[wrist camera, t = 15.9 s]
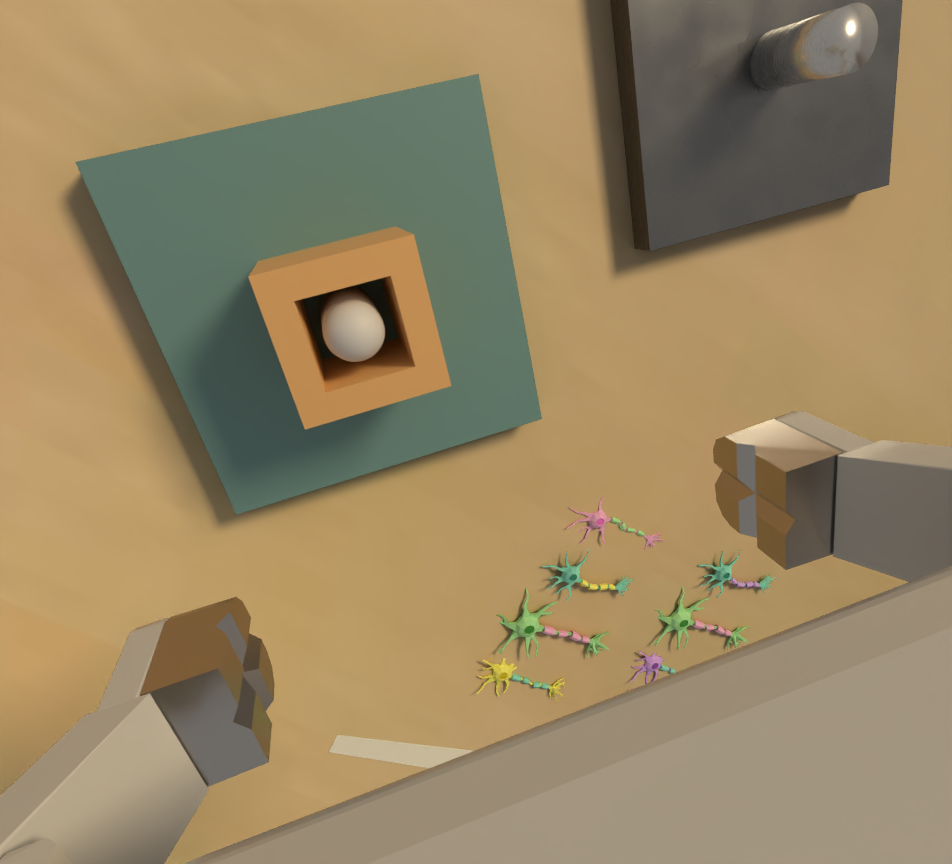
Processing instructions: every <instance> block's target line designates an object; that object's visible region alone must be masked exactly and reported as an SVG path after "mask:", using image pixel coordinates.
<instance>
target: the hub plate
mask: <svg viewBox="0 0 952 864" xmlns="http://www.w3.org/2000/svg"><path fill="white" fill-rule="evenodd" d="M76 164H77V166H78V169H79V171H80V173H81V175H82V177H83V180H84V182H85V184H86V186H87V188H88V191H89V193H90V195H91V197H92V199H93V202H94V204H95V206H96V208H97V210H98V212H99V215H100V217H101V219H102V221H103V223H104V226H105V228H106V230H107V232H108V234H109V237H110V239H111V241H112V243H113V245H114V248H115V250H116V252H117V254H118V256H119V259H120V261H121V263H122V265H123V267H124V269H125V272H126V274H127V276H128V278H129V280H130V283H131V285H132V287H133V289H134V291H135V294H136V296H137V298H138V300H139V302H140V305H141V307H142V309H143V311H144V313H145V316H146V318H147V320H148V322H149V324H150V326H151V329H152V331H153V333H154V335H155V337H156V340H157V342H158V344H159V346H160V348H161V351H162V353H163V355H164V357H165V359H166V362H167V364H168V366H169V368H170V370H171V373H172V375H173V377H174V379H175V381H176V383H177V386H178V388H179V390H180V392H181V394H182V397H183V399H184V401H185V403H186V405H187V408H188V410H189V412H190V414H191V416H192V419H193V421H194V423H195V425H196V427H197V429H198V432H199V434H200V436H201V438H202V440H203V443H204V445H205V447H206V449H207V451H208V454H209V456H210V458H211V460H212V462H213V465H214V467H215V469H216V471H217V473H218V476H219V478H220V480H221V482H222V484H223V486H224V489H225V491H226V493H227V495H228V497H229V500H230V502H231V504H232V506H233V508H234V511H235V513H236V515H237V514H240V513H244V512H247V511H250V510H253V509H256V508H259V507H263V506H266V505H269V504H272V503H275V502H279V501H282V500H285V499H288V498H291V497H294V496H298V495H301V494H304V493H307V492H310V491H314V490H317V489H320V488H323V487H326V486H330V485H333V484H336V483H339V482H342V481H345V480H349V479H352V478H355V477H358V476H361V475H365V474H368V473H371V472H374V471H377V470H381V469H384V468H387V467H390V466H393V465H396V464H400V463H403V462H406V461H409V460H412V459H416V458H419V457H422V456H425V455H428V454H432V453H435V452H438V451H441V450H444V449H447V448H451V447H454V446H457V445H460V444H463V443H467V442H470V441H473V440H476V439H479V438H482V437H486V436H489V435H492V434H495V433H498V432H502V431H505V430H508V429H511V428H514V427H518V426H521V425H524V424H527V423H530V422H533V421H537V420H540V419H542V417H541V412H540V406H539V401H538V396H537V390H536V385H535V379H534V374H533V368H532V363H531V357H530V352H529V347H528V341H527V336H526V330H525V325H524V319H523V314H522V309H521V303H520V298H519V292H518V287H517V281H516V276H515V271H514V265H513V260H512V254H511V249H510V243H509V238H508V232H507V227H506V222H505V216H504V211H503V205H502V200H501V194H500V189H499V184H498V178H497V173H496V167H495V162H494V156H493V151H492V145H491V140H490V135H489V129H488V124H487V118H486V113H485V107H484V102H483V97H482V91H481V86H480V80H479V75H478V74H476V75H471V76H467V77H462V78H458V79H453V80H449V81H444V82H439V83H435V84H430V85H426V86H421V87H417V88H412V89H407V90H403V91H398V92H394V93H389V94H385V95H380V96H375V97H371V98H366V99H362V100H357V101H353V102H348V103H343V104H339V105H334V106H330V107H325V108H321V109H316V110H311V111H307V112H302V113H298V114H293V115H289V116H284V117H279V118H275V119H270V120H266V121H261V122H257V123H252V124H247V125H243V126H238V127H234V128H229V129H225V130H220V131H215V132H211V133H206V134H202V135H197V136H193V137H188V138H183V139H179V140H174V141H170V142H165V143H161V144H156V145H151V146H147V147H142V148H138V149H133V150H129V151H124V152H119V153H115V154H110V155H106V156H101V157H97V158H92V159H87V160H83V161H78V162H76ZM395 226H396V227H398V228H400V229H403V230H405V231H407V232H410V233H412V234H414V237H415V241H416V245H417V249H418V253H419V257H420V261H421V265H422V269H423V273H424V277H425V281H426V285H427V289H428V293H429V297H430V301H431V305H432V309H433V313H434V317H435V322H436V326H437V330H438V334H439V338H440V342H441V346H442V350H443V354H444V358H445V362H446V366H447V370H448V374H449V378H450V382H451V386H450V387H446V388H443V389H440V390H436V391H433V392H430V393H426V394H423V395H420V396H416V397H413V398H410V399H406V400H403V401H399V402H396V403H393V404H389V405H386V406H383V407H379V408H376V409H373V410H369V411H366V412H363V413H359V414H356V415H352V416H349V417H346V418H342V419H339V420H336V421H332V422H329V423H326V424H322V425H319V426H316V427H312V428H309V429H305V428H304V426H303V423H302V420H301V418H300V415H299V412H298V410H297V407H296V404H295V401H294V399H293V396H292V393H291V391H290V388H289V385H288V383H287V380H286V377H285V375H284V372H283V369H282V367H281V364H280V361H279V358H278V356H277V353H276V350H275V348H274V345H273V342H272V340H271V337H270V334H269V332H268V329H267V326H266V323H265V321H264V318H263V315H262V313H261V310H260V307H259V305H258V302H257V299H256V297H255V294H254V291H253V288H252V286H251V283H250V280H249V278H248V276H249V275H250V273H251V272H252V270H253V268H254V267H255V265H256V264H257V262H258V261H260V260H264V259H268V258H272V257H276V256H280V255H284V254H288V253H292V252H296V251H300V250H304V249H308V248H312V247H316V246H320V245H324V244H327V243H331V242H335V241H339V240H343V239H347V238H351V237H355V236H359V235H363V234H367V233H371V232H375V231H379V230H383V229H387V228H391V227H395ZM302 301H303V304H304V307H305V310H306V313H307V316H308V319H309V322H310V325H311V328H312V331H313V334H314V336H315V339H316V342H317V345H318V348H319V351H320V354H321V357H322V359H326V358H329V357H333V356H337V357H339V358H341V359H343V360H346V361H350V362H360V361H364V360H367V359H369V358H371V357H372V356H374V355H375V354H376V353H377V352H378V351H379V349H380V348H381V346H382V344H383V342H386V341H389V340H393V339H397V338H398V336H397V333H396V329H395V326H394V322H393V318H392V315H391V311H390V308H389V304H388V300H387V297H386V293H385V290H384V286H383V283H382V279H381V278H380V279H376V280H373V281H369V282H365V283H361V284H357V285H354V286H350V287H346V288H342V289H339V290H335V291H331V292H327V293H324V294H320V295H316V296H312V297H308V298H305V299H302Z"/></svg>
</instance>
